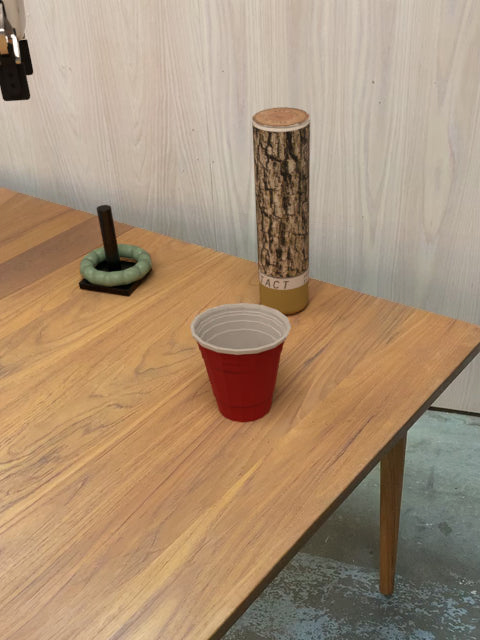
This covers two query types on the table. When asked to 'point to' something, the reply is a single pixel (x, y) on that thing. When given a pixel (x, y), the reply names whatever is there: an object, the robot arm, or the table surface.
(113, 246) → the ring stand
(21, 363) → the table surface
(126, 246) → the ring
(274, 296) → the paper tube
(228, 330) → the plastic cup
